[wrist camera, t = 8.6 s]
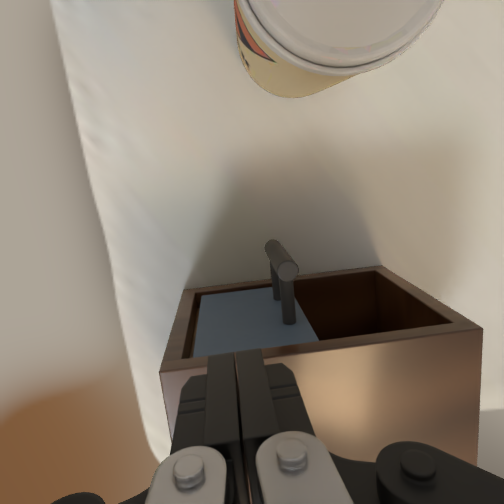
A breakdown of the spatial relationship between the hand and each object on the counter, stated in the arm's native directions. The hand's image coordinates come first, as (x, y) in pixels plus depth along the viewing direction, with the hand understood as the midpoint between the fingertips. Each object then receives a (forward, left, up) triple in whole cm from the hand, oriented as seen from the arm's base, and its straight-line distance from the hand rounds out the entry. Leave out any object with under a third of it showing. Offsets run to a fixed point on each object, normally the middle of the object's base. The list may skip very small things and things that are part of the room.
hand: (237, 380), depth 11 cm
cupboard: (+8, +4, -19) cm, 21 cm away
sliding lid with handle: (+2, +1, -17) cm, 17 cm away
